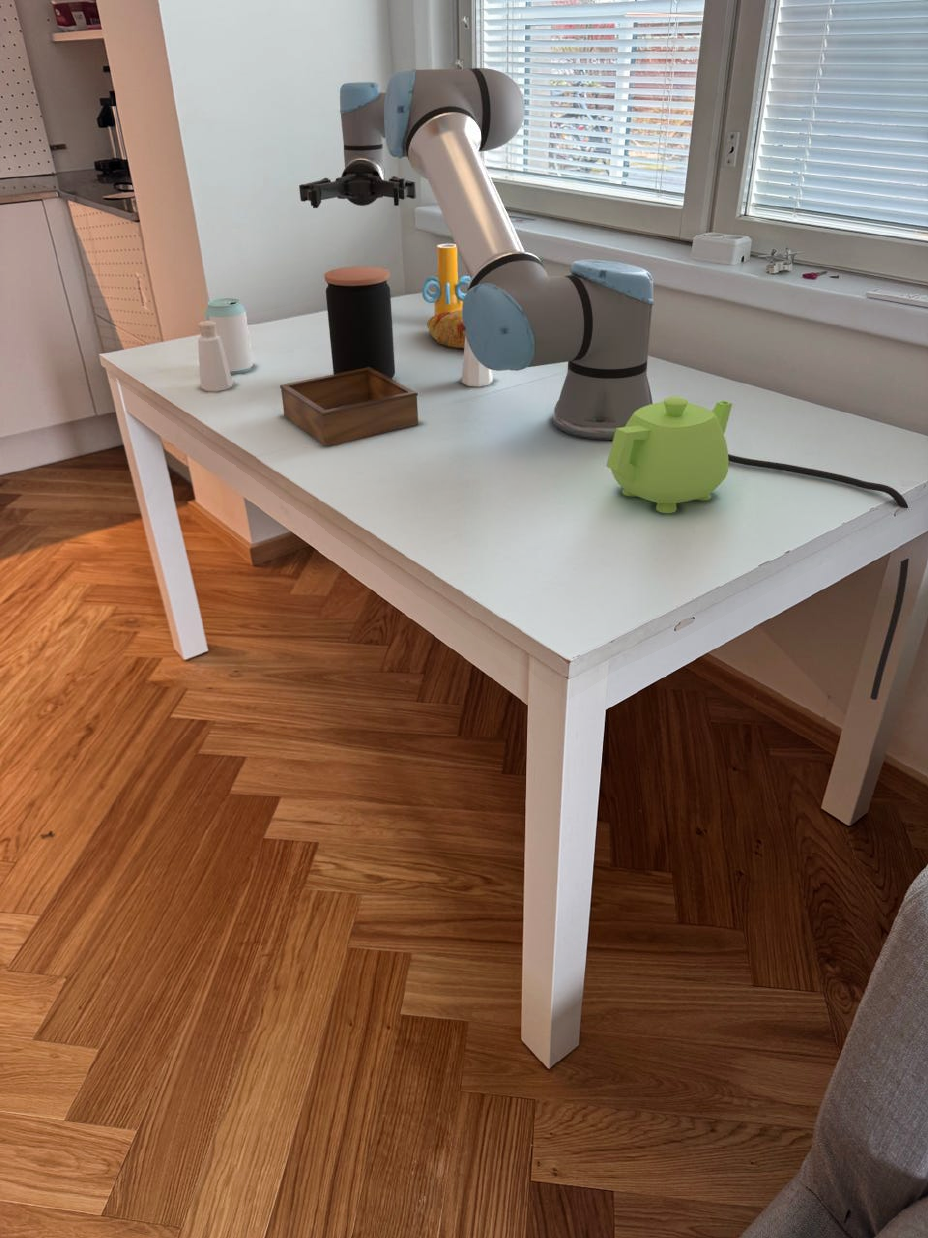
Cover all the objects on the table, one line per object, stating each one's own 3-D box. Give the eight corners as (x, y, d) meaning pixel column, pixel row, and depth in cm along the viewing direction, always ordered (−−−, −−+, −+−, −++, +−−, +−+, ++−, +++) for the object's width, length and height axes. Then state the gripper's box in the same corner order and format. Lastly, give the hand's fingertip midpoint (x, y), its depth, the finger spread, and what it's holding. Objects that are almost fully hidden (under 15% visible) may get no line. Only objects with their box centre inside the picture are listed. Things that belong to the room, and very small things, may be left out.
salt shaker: (232, 380, 165) (222, 316, 159) (234, 390, 161) (224, 324, 155) (200, 383, 164) (189, 319, 158) (201, 393, 159) (190, 327, 154)
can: (242, 361, 175) (233, 294, 169) (260, 369, 170) (251, 301, 164) (207, 368, 171) (196, 301, 165) (224, 377, 167) (213, 308, 160)
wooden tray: (419, 424, 145) (417, 392, 142) (325, 446, 138) (322, 413, 135) (372, 397, 156) (369, 366, 153) (283, 416, 149) (279, 384, 146)
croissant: (419, 351, 190) (402, 319, 184) (452, 319, 192) (436, 286, 186) (488, 372, 175) (471, 338, 170) (523, 338, 178) (508, 303, 172)
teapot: (684, 459, 131) (694, 370, 124) (760, 491, 121) (775, 396, 114) (573, 496, 121) (578, 401, 114) (646, 533, 112) (656, 433, 105)
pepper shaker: (480, 388, 158) (479, 322, 153) (455, 383, 161) (453, 318, 155) (499, 380, 162) (499, 315, 156) (473, 375, 165) (473, 311, 159)
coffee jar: (396, 370, 168) (390, 265, 159) (394, 389, 159) (387, 278, 150) (336, 372, 168) (326, 266, 158) (331, 391, 159) (320, 280, 149)
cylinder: (474, 329, 191) (473, 251, 183) (422, 329, 191) (419, 251, 183) (474, 313, 201) (473, 239, 193) (426, 314, 201) (423, 240, 193)
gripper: (429, 201, 177) (430, 219, 159) (297, 204, 177) (283, 224, 159) (428, 157, 173) (428, 171, 155) (292, 160, 173) (277, 175, 155)
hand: (355, 197), depth 157 cm, fingers open, 13 cm apart
